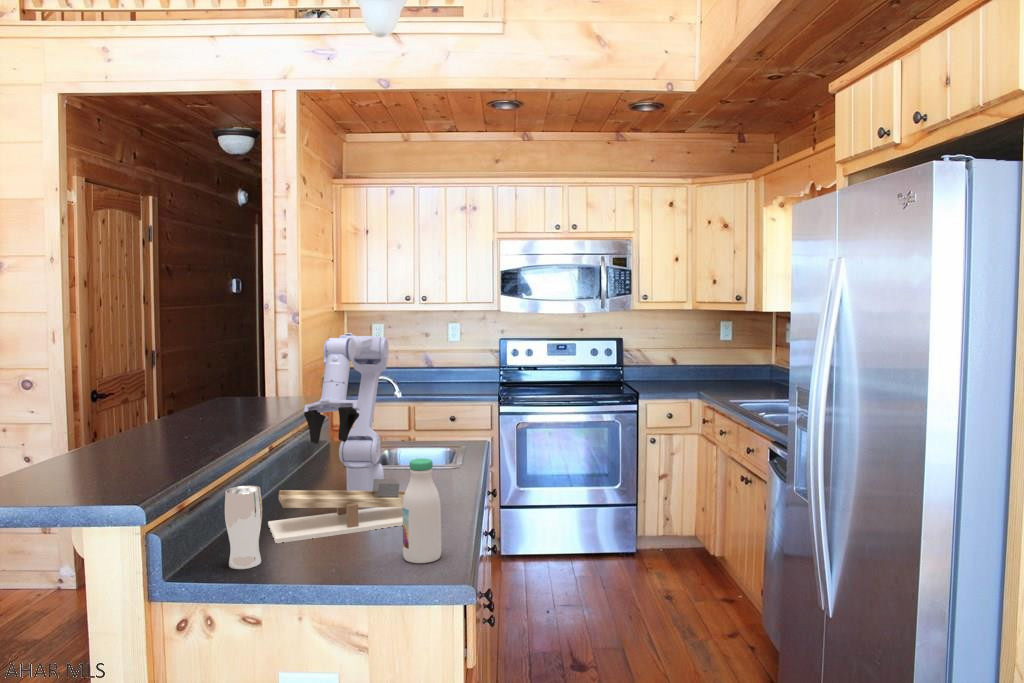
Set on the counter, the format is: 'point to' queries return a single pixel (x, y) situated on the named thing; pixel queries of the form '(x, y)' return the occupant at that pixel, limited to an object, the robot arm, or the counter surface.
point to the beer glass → (243, 525)
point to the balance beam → (335, 499)
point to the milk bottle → (421, 515)
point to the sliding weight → (385, 488)
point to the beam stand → (336, 523)
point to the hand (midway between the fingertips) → (328, 441)
